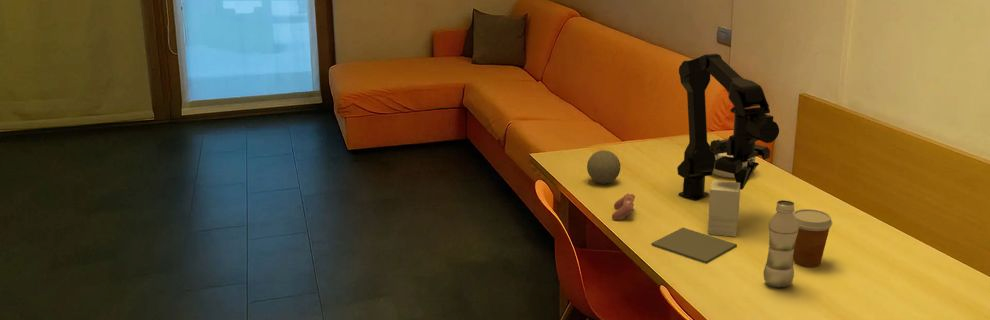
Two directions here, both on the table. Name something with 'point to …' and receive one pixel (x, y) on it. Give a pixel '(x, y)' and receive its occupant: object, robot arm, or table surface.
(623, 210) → the video game controller
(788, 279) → the plastic bottle
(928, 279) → the table surface
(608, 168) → the decorative ball
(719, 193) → the supplement box
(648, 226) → the table surface
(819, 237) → the disposable coffee cup
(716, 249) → the mat
